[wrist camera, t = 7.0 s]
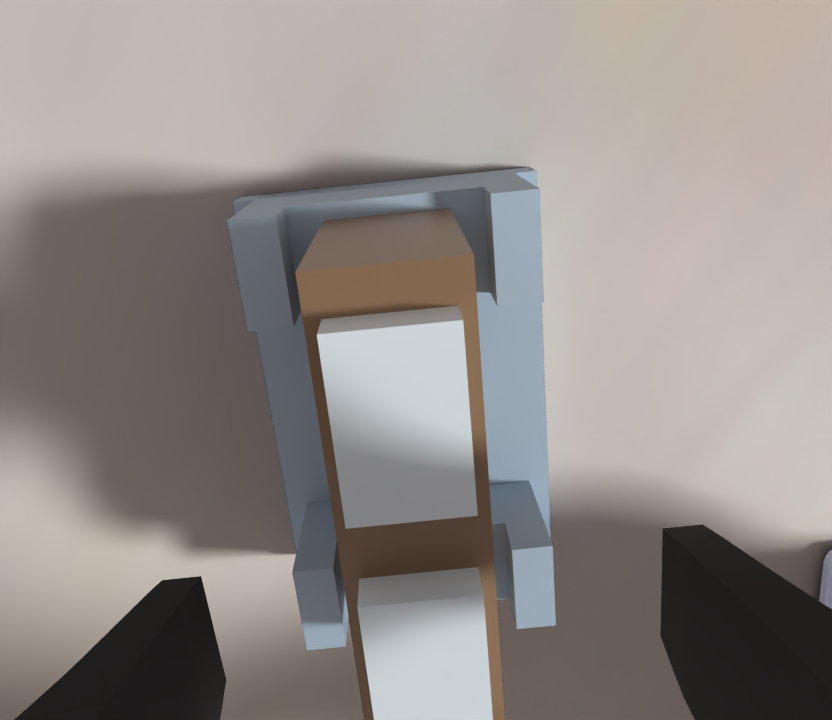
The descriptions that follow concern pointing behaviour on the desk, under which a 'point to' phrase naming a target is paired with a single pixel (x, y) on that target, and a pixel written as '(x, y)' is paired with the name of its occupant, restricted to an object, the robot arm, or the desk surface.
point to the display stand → (500, 361)
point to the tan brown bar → (406, 459)
